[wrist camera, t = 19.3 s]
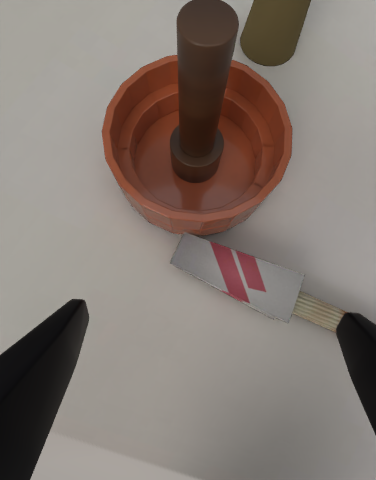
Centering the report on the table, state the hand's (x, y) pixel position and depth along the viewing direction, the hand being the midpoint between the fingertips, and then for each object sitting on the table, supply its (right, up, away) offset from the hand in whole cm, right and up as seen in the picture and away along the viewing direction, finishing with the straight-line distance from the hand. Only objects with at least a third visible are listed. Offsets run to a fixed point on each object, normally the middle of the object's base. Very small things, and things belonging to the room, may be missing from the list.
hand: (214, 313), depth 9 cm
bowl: (0, +10, +15) cm, 18 cm away
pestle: (0, +10, +14) cm, 17 cm away
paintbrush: (+7, -2, +12) cm, 15 cm away
